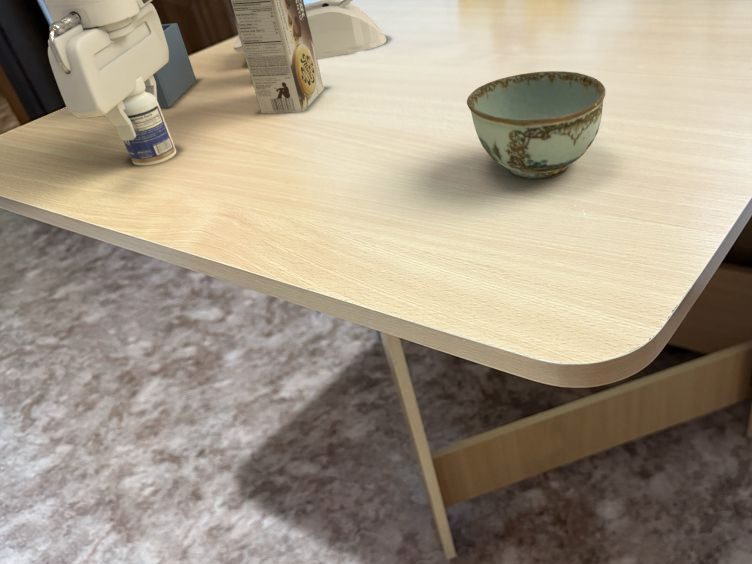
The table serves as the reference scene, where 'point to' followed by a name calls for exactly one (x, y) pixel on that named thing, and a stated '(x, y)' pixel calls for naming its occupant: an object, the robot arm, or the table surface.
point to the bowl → (537, 120)
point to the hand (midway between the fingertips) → (142, 126)
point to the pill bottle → (147, 128)
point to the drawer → (174, 69)
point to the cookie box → (278, 53)
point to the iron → (338, 29)
